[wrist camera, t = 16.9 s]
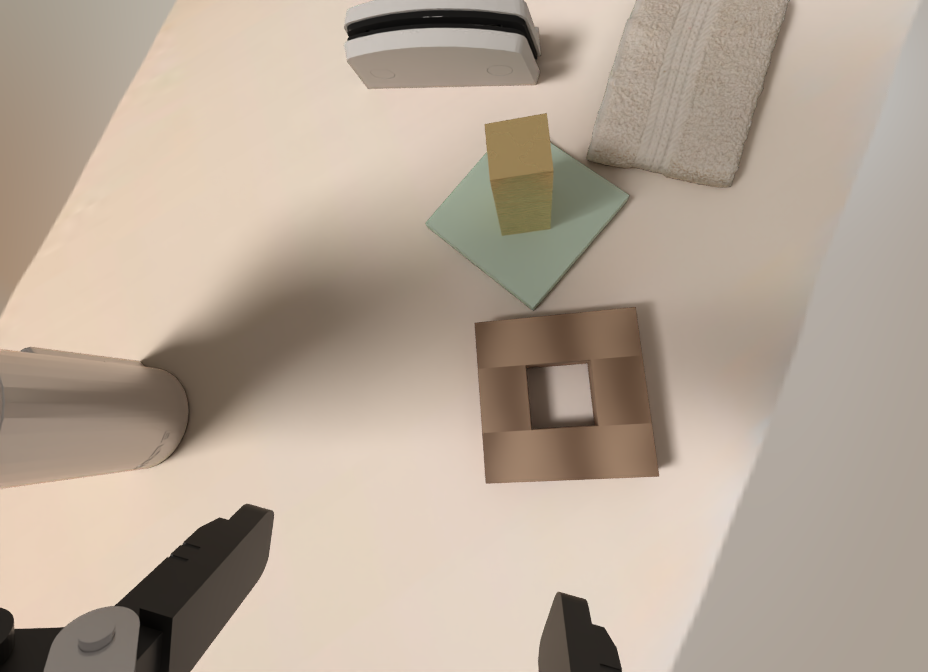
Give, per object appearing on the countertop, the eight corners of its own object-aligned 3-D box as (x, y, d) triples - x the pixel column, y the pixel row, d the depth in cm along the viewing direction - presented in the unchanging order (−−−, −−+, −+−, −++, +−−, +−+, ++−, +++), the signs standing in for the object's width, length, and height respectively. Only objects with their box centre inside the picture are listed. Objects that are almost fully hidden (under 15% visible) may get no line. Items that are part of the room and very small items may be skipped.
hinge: (543, 35, 40) (540, -34, 31) (539, 91, 41) (535, 40, 32) (372, 43, 44) (320, -19, 34) (372, 95, 44) (321, 49, 35)
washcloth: (780, 7, 38) (801, -28, 35) (728, 198, 36) (745, 178, 33) (638, -9, 40) (646, -43, 37) (582, 168, 38) (585, 147, 35)
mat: (428, 227, 39) (425, 223, 38) (515, 126, 39) (515, 119, 38) (533, 310, 36) (533, 308, 35) (627, 201, 36) (629, 195, 35)
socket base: (489, 478, 34) (485, 483, 32) (479, 328, 37) (474, 322, 34) (650, 471, 33) (659, 476, 30) (628, 314, 35) (635, 307, 32)
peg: (501, 235, 37) (489, 180, 28) (497, 191, 37) (484, 124, 29) (550, 229, 36) (553, 170, 27) (545, 184, 37) (546, 113, 28)
